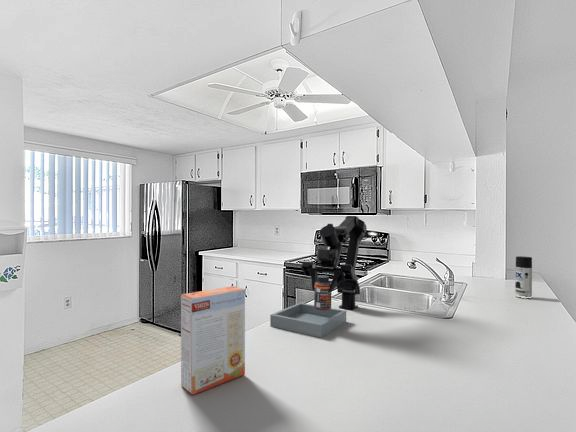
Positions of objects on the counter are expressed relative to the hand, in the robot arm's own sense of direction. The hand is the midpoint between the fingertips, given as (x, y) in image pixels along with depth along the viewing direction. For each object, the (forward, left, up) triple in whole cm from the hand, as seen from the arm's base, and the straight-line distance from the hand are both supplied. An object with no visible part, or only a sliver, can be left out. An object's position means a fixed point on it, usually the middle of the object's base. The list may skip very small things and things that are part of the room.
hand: (321, 290), depth 114 cm
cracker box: (+47, -4, -13) cm, 49 cm away
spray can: (-98, +61, -13) cm, 117 cm away
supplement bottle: (-1, 0, -7) cm, 7 cm away
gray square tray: (-2, -6, -13) cm, 15 cm away
